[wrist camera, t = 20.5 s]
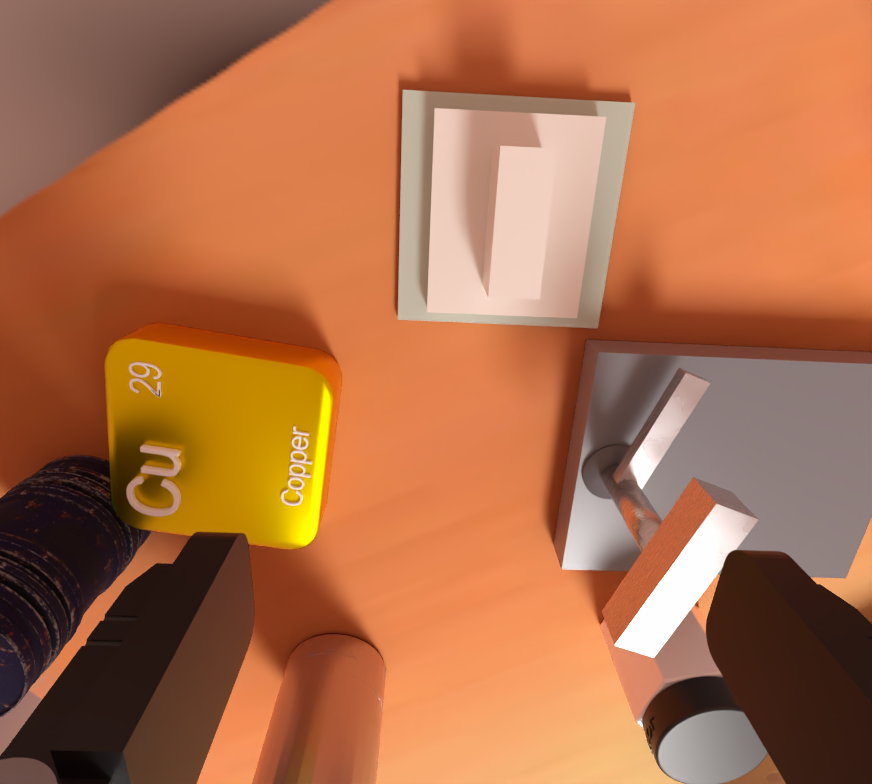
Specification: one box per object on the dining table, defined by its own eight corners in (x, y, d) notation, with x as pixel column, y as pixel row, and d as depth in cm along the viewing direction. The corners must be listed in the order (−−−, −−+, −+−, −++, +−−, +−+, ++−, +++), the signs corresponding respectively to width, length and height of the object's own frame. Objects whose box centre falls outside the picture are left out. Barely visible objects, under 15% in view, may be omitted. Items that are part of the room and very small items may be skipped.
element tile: (325, 521, 45) (313, 560, 40) (140, 494, 43) (106, 531, 39) (346, 352, 39) (335, 375, 35) (134, 316, 38) (95, 335, 33)
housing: (820, 553, 46) (848, 580, 43) (553, 544, 45) (562, 571, 42) (898, 353, 39) (938, 368, 36) (586, 339, 38) (599, 353, 35)
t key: (699, 373, 36) (808, 454, 25) (596, 534, 40) (653, 657, 30) (666, 359, 35) (764, 436, 25) (567, 524, 40) (614, 645, 30)
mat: (595, 326, 38) (597, 328, 38) (398, 317, 38) (397, 319, 37) (631, 104, 33) (635, 102, 32) (403, 91, 32) (402, 89, 32)
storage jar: (27, 441, 41) (-178, 577, 27) (159, 468, 42) (25, 612, 28) (31, 544, 45) (-149, 711, 31) (151, 567, 46) (30, 738, 32)
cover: (571, 313, 37) (594, 335, 32) (427, 306, 37) (426, 328, 32) (598, 119, 33) (630, 108, 27) (434, 110, 32) (435, 98, 27)
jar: (582, 611, 48) (628, 743, 37) (660, 563, 46) (734, 686, 35) (637, 666, 51) (695, 805, 39) (713, 622, 49) (797, 755, 38)
